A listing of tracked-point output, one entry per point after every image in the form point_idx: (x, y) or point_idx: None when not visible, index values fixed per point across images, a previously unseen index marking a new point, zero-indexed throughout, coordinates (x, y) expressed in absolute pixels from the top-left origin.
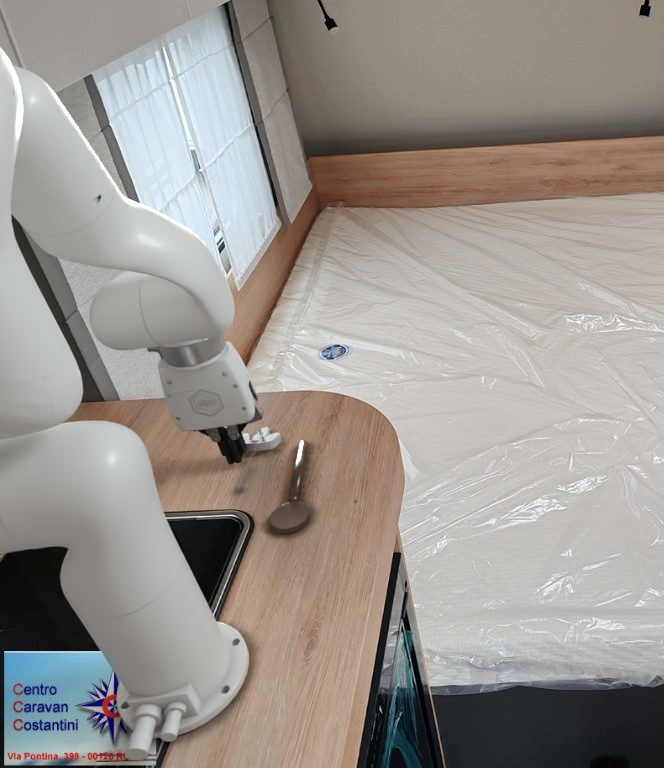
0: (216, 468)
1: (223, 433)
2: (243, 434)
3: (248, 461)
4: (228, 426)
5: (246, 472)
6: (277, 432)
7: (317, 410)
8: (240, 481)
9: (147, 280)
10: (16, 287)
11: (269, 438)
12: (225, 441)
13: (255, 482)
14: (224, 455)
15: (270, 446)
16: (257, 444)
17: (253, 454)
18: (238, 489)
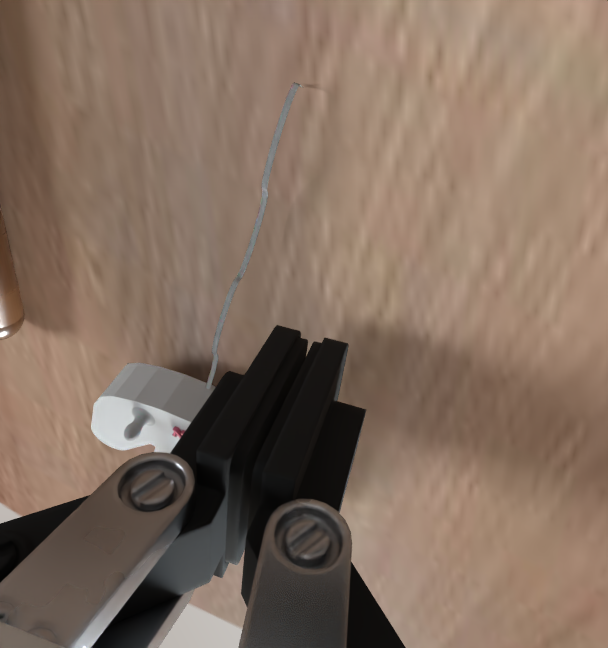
0: (444, 376)
1: (247, 555)
2: None
3: (226, 309)
4: (93, 599)
5: (254, 241)
6: (109, 445)
7: (40, 492)
8: (275, 151)
9: None
10: None
11: (122, 419)
12: (257, 477)
13: (208, 140)
14: (350, 407)
15: (128, 372)
16: (174, 407)
17: (216, 362)
18: (298, 84)
